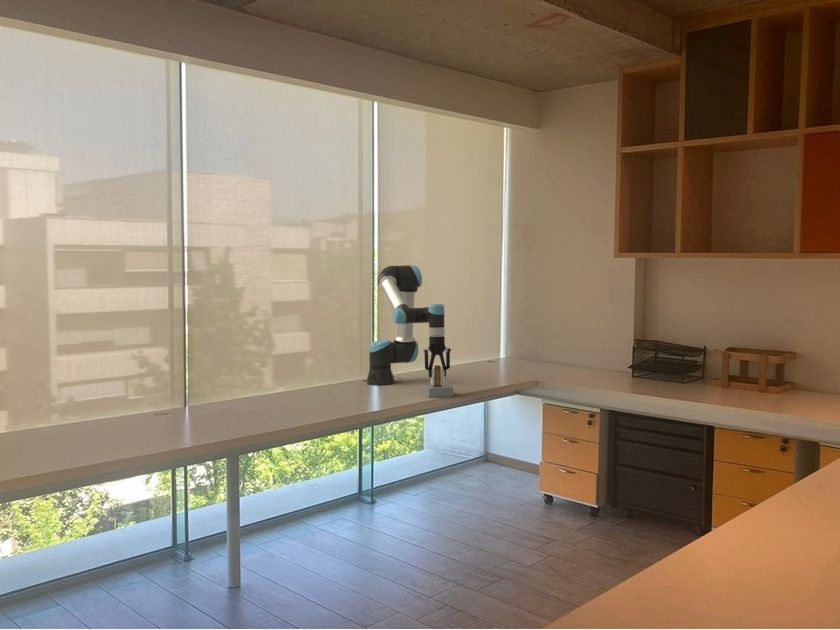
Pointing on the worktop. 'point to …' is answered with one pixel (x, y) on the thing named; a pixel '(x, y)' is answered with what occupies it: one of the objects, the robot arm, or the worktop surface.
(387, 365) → the robot arm
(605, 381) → the worktop surface
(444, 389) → the socket block
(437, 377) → the dowel
